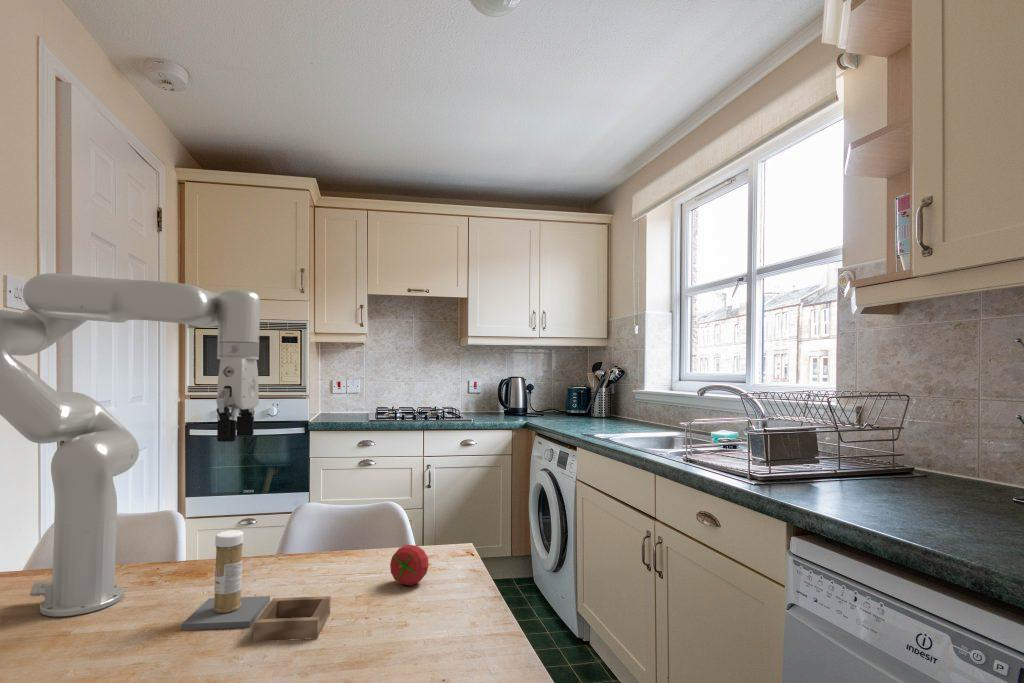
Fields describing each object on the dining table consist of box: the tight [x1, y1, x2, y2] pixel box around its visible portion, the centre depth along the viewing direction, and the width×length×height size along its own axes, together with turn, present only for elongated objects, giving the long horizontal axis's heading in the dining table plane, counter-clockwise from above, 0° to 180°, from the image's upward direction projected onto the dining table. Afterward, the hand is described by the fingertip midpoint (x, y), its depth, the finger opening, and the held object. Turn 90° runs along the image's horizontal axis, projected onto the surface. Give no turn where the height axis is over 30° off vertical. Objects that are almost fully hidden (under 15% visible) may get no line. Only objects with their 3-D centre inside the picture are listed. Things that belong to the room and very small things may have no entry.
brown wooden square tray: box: [253, 595, 332, 643], centre depth 98 cm, size 10×10×3 cm
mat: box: [180, 595, 271, 631], centre depth 103 cm, size 11×11×1 cm
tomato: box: [389, 544, 430, 586], centre depth 118 cm, size 8×8×8 cm
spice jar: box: [213, 529, 245, 613], centre depth 103 cm, size 5×5×13 cm
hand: (236, 438), depth 114 cm, fingers open, 9 cm apart
